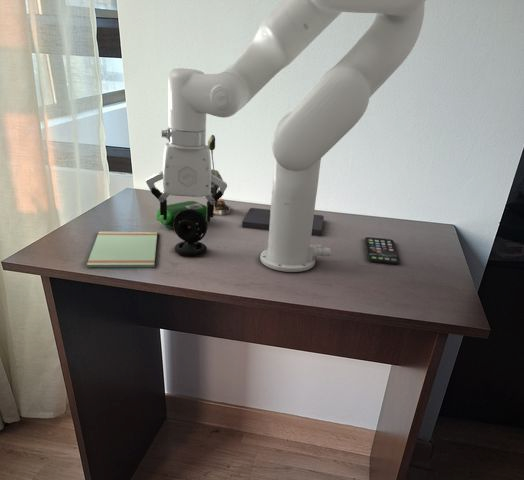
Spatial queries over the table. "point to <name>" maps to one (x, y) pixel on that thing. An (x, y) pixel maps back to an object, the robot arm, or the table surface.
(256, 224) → the notebook
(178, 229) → the webcam
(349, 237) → the table surface
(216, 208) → the plant with pod
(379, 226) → the table surface
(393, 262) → the smartphone
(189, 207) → the snack package
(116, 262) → the towel
